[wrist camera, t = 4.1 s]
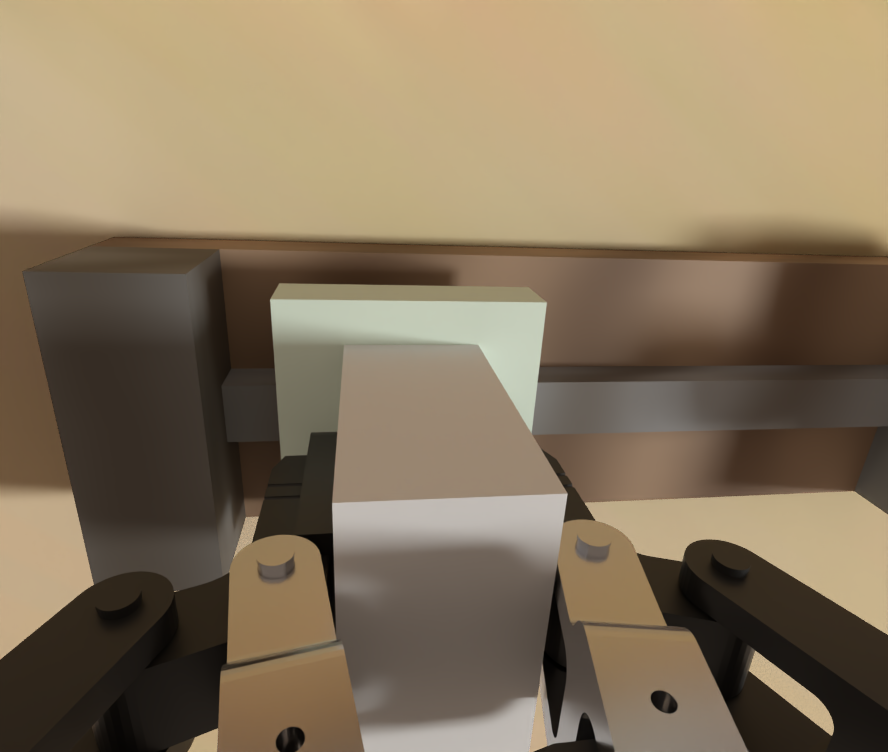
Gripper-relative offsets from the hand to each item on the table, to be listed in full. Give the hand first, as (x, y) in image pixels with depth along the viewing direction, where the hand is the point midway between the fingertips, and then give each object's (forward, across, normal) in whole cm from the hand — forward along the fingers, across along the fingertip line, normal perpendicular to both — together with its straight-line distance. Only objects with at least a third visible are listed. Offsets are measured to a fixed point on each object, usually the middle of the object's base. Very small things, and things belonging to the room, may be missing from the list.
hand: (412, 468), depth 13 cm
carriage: (+3, 0, 0) cm, 3 cm away
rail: (+6, -6, 0) cm, 8 cm away
